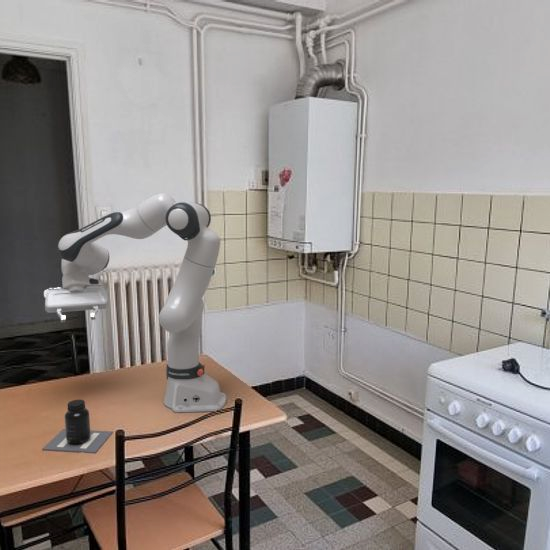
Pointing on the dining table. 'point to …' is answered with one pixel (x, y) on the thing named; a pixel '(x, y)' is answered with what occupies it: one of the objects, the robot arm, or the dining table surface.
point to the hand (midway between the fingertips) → (78, 320)
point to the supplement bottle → (77, 423)
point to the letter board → (88, 447)
